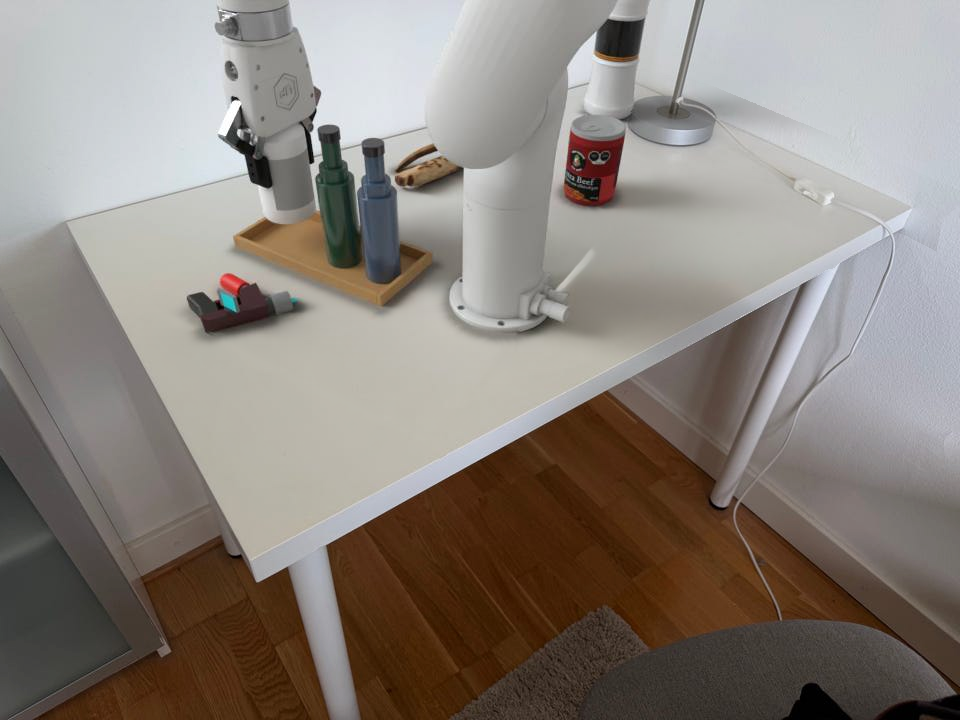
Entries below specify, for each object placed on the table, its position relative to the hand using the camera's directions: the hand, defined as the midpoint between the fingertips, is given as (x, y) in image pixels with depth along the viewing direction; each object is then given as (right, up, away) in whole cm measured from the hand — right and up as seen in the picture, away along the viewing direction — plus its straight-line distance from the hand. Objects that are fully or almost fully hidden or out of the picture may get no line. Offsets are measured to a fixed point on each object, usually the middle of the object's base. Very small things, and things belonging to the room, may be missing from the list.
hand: (283, 171), depth 86 cm
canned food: (+41, +2, +19) cm, 46 cm away
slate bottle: (+12, -13, +1) cm, 18 cm away
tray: (+5, -10, +5) cm, 12 cm away
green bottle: (+7, -10, +4) cm, 13 cm away
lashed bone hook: (+17, +6, +23) cm, 30 cm away
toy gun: (-4, -17, -3) cm, 18 cm away
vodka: (+49, +23, +43) cm, 69 cm away
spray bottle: (0, -4, +4) cm, 6 cm away
